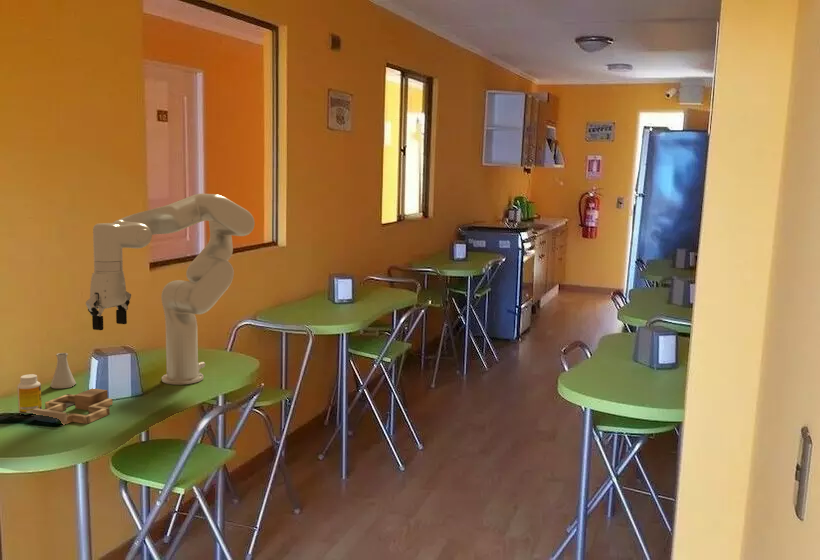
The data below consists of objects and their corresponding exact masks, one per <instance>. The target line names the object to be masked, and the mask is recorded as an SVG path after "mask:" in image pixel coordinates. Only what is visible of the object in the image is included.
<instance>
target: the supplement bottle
mask: <svg viewBox="0 0 820 560" xmlns="http://www.w3.org/2000/svg"><path fill="white" fill-rule="evenodd" d="M19 378H20V382H19V383H18V384H17V389H16V390H17V403H18V404H17V405H18V414H19V413H33V409H35V408H38V409H43V405H42V401H43V400H42V387H41V386H42V385H41V382H40V381H38V375H37V374H33V373H31V374H30V373H29V374H23V375H21V376H20V377H19Z"/></svg>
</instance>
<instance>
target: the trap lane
mask: <svg viewBox="0 0 820 560" xmlns="http://www.w3.org/2000/svg"><path fill="white" fill-rule="evenodd" d="M75 395H76V394H73V393H72V394H70V393H66V394H65V395H64V394H63V395H61V396H58V397H56V398H53V399H50V400H47V401H45V402H44V409H43V408H42V409H38V408H35V409H33V414H36V415H43V416H49V417H53V418H57V419H59V420H60V421H61V423H62V424H63V425H62V426H65V424H66V425H67V424H70V423H73V422H74V423H78V424H85V425H86V424H87V425H88V424H91V423H93V422H95V421H97V420H99V419H102V418H104V417H106V416H109V415H110V414H111V411H110V407H111V406H110V405H112V404H114V403H113V398H109V397H108V399H106V400H104V401H101V402H99V403H96V404H93V405H91V406H88V410H87V413H88V414H79V413H73V412H71V413H68V414H67V412H65V411H66V410H67V408H69V407H72V406H75ZM112 406H113V405H112Z"/></svg>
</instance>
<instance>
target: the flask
mask: <svg viewBox="0 0 820 560" xmlns="http://www.w3.org/2000/svg"><path fill="white" fill-rule="evenodd" d="M55 356H56V358H57V362H56V368H55V371H54V374H53V378H52V380H51V382H50V385H49V386H50V387H51V388H52V389H67V388H72V386H73V387H75V386H76V385H77V382H76V380H75V378H74V376H73V373H72V371H71V369H70V366H69V362H68V358H67V357H68V356H69V353H67V352H58V353H56V354H55ZM75 384H76V385H75ZM74 385H75V386H74Z"/></svg>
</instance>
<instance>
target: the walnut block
mask: <svg viewBox="0 0 820 560" xmlns="http://www.w3.org/2000/svg"><path fill="white" fill-rule="evenodd" d="M93 388H94V387H92V388H89V389H88V390H85V391H82V392H78V393H76V394H74V395H75V405H74V408H75V409H78V410H84V411H88V406H91V405H93V404H96V403H99V402H101V401H104V400H106V399H109V396H108V389H103V388H102V389H101V388H95V389H93Z"/></svg>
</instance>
